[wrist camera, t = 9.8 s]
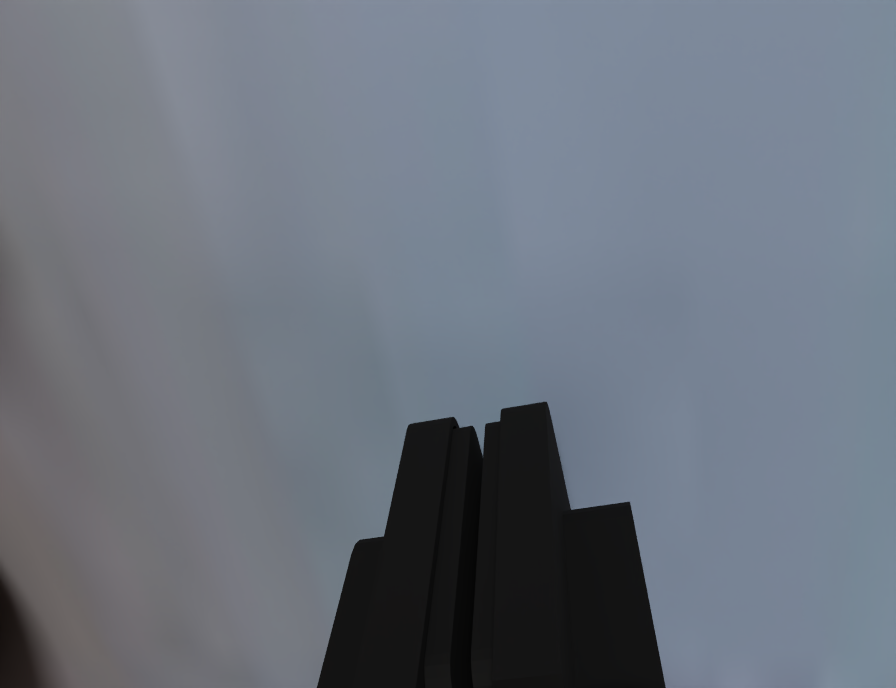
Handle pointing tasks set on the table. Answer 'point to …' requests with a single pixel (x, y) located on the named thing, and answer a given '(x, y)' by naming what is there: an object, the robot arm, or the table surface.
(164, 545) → the table surface
